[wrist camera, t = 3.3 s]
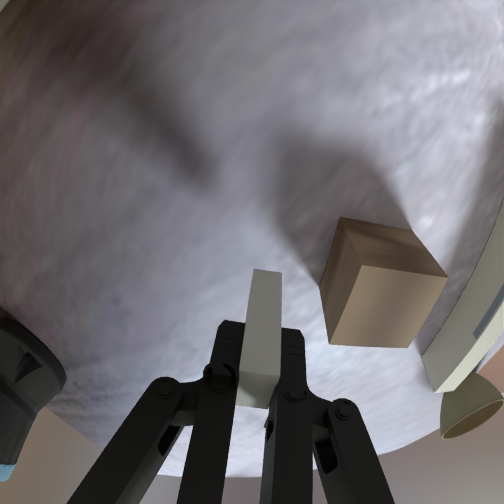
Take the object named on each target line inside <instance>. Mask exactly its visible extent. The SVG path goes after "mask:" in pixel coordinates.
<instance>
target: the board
mask: <svg viewBox="0 0 504 504" xmlns="http://www.w3.org/2000/svg"><path fill="white" fill-rule="evenodd" d="M503 329H504V201H503V203H502V206H501V209H500V212H499V215H498V217H497V220H496V222H495V225H494V227H493V230H492V232H491V235H490V237H489V240H488V242H487V244H486V246H485V249H484V251H483V253H482V255H481V257H480V259H479V262H478V264H477V266H476V268H475V270H474V272H473V274H472V276H471V278H470V280H469V281H468V283H467V285H466V287H465V289H464V291H463V293H462V294H461V296H460V298H459V300H458V301H457V303H456V305H455V307H454V308H453V310H452V312H451V313H450V315H449V316H448V318H447V320H446V321H445V323H444V324H443V326H442V328H441V329H440V331H439V332H438V334H437V335H436V337H435V338H434V340H433V341H432V343H431V344H430V345H429V347H428V348H427V350H426V351H425V353H424V354H423V355H422V357H421V359H422V362H423V364H424V367H425V369H426V372H427V375H428V378H429V380H430V383H431V386H432V389H433V392H434V393H441V392H448V391H454V390H455V389H456V388H457V387H458V386H459V384H460V383H461V382H462V381H463V380H464V379H465V378H466V377H467V376H468V374H469V373H470V372H471V371H472V370H473V369H474V367H475V366H476V365H477V364H478V363H479V361H480V360H481V359H482V358H483V356H484V355H485V354H486V352H487V351H488V350H489V349H490V347H491V346H492V345H493V343H494V342H495V341H496V339H497V338H498V336H499V335H500V334H501V332H502V331H503Z"/></svg>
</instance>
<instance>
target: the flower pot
mask: <svg viewBox="0 0 504 504" xmlns="http://www.w3.org/2000/svg"><path fill="white" fill-rule="evenodd" d="M503 405H504V398H503V396H502V395H501V393H500V392H499V391H498V390H497V388H496V387H495V386H494V385H493V384H492V383H491V382H490V381H488V380H487V379H486V378H484V377H482V376H481V375H479V374H477V373H475V372H473V371H471V372H470V373H469V374H468V376H467V377H466V378H465V379H464V380H463V381H462V382H461V383H460V384H459V386H458V387H457V388H456V389H455V390H454V391H448V392H444V394H443V399H442V404H441V413H440V431H441V438H442V439H443V440H448V439H452V438H456V437H459V436H461V435H464V434H466V433H468V432H470V431H472V430H474V429H476V428H477V427H479V426H481V425H482V424H484V423H485V422H486V421H488V420H489V419H490V418H492V417H493V416H494V415H495V414H496V413H497V412H498V411H499V410H500V409H501V408H502V407H503Z"/></svg>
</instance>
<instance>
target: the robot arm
mask: <svg viewBox="0 0 504 504" xmlns="http://www.w3.org/2000/svg"><path fill="white" fill-rule="evenodd" d="M281 310H282V273H280V272H273V271H266V270H260V269H254V270H253V276H252V283H251V289H250V295H249V302H248V308H247V315H246V322H245V323H241V322H235V321H228V320H224V321H223V322H222V323H221V324H220V325H219V327H218V330H217V334H216V338H215V342H214V346H213V351H212V355H211V359H210V363H209V364H208V365H206V367H205V368H204V370H203V377H202V378H201V379H199V380H197V381H194V382H186V383H179V382H178V381H177V380H175V379H174V378H170V377H160V378H157V379H155V380H154V381H153V382H152V383H151V384H150V385H149V387H148V388H147V389H146V391H145V392H144V394H143V395H142V396H141V398H140V399H139V401H138V402H137V403H136V405H135V406H134V408H133V409H132V411H131V412H130V413H129V415H128V416H127V418H126V419H125V420H124V422H123V423H122V425H121V426H120V428H119V429H118V430H117V432H116V433H115V435H114V436H113V438H112V439H111V440H110V442H109V443H108V445H107V446H106V448H105V449H104V450H103V452H102V453H101V455H100V456H99V458H98V459H97V461H96V462H95V463H94V465H93V466H92V468H91V469H90V471H89V472H88V473H87V475H86V476H85V478H84V479H83V480H82V482H81V483H80V485H79V486H78V488H77V489H76V491H75V492H74V493H73V495H72V496H71V498H70V499H69V501H68V502H67V504H139V503H140V501H141V500H142V498H143V496H144V494H145V493H146V491H147V489H148V488H149V486H150V485H151V483H152V481H153V480H154V478H155V476H156V475H157V473H158V471H159V469H160V468H161V466H162V464H163V463H164V461H165V459H166V458H167V456H168V454H169V452H170V451H171V449H172V447H173V445H174V444H175V442H176V440H177V439H178V437H179V435H180V433H181V432H182V430H183V428H184V426H191V425H193V430H192V434H191V439H190V443H189V448H188V452H187V457H186V461H185V466H184V471H183V475H182V481H181V485H180V490H179V494H178V499H177V504H221V501H222V494H223V488H224V480H225V474H226V467H227V460H228V453H229V446H230V439H231V432H232V425H233V418H234V411H235V405H238V406H246V407H253V408H262V409H268V407H269V415H268V417H267V420H266V422H265V425H264V428H266V433H265V446H264V458H263V470H262V482H261V493H260V504H312V492H313V491H312V489H313V479H312V478H313V454H314V458H315V461H316V465H317V468H318V471H319V475H320V478H321V482H322V485H323V489H324V492H325V496H326V499H327V503H328V504H395V503H394V500H393V497H392V495H391V492H390V489H389V486H388V484H387V481H386V478H385V475H384V473H383V470H382V468H381V465H380V462H379V460H378V457H377V454H376V452H375V449H374V447H373V444H372V441H371V439H370V436H369V434H368V431H367V429H366V426H365V424H364V421H363V419H362V416H361V414H360V411H359V409H358V407H357V406H356V404H355V403H353V402H352V401H351V400H348V399H345V398H339V399H336V400H334V401H333V402H331V401H328V400H325V399H322V398H320V397H317V396H316V395H314V394H313V393H312V392H311V391H310V390H309V388H308V386H307V380H306V359H305V341H304V337H303V335H302V333H301V331H300V330H297V329H289V328H281ZM66 380H67V377H66V374H65V371H64V369H63V368H62V366H61V365H60V363H59V362H58V361H57V359H56V358H55V357H54V356H53V354H52V353H51V352H50V351H49V350H48V349H47V348H46V347H45V346H44V345H43V344H42V343H41V342H40V341H39V340H38V339H37V338H35V337H34V336H33V335H32V334H31V333H29V332H28V331H27V330H26V329H24V328H23V327H21V326H20V325H18V324H17V323H15V322H13V321H11V320H9V319H5V318H0V481H6V480H8V479H9V477H10V475H11V473H12V471H13V469H14V467H15V466H16V465H17V459H18V457H19V454H20V452H21V449H22V447H23V444H24V442H25V440H26V438H27V435H28V433H29V431H30V428H31V426H32V424H33V422H34V420H35V418H36V416H37V414H38V412H39V411H40V410H41V409H42V408H43V407H44V406H45V405H46V404H47V403H49V402H50V401H51V400H52V399H53V398H54V397H55V396H56V395H57V394H59V393H60V392H61V390H62V389H63V387H64V385H65V383H66Z"/></svg>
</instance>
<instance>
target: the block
mask: <svg viewBox="0 0 504 504" xmlns="http://www.w3.org/2000/svg"><path fill="white" fill-rule="evenodd" d="M447 280H448V276H447V275H446V274H445V272H444V271H443V270H442V268H441V267H440V265H439V264H438V263H437V261H436V260H435V259H434V257H433V256H432V255H431V254H430V252H429V251H428V250H427V248H426V247H425V246H424V245H423V243H422V242H421V241H420V240H419V238H418V237H417V236H416V235H415V234H414V232H413V231H408V230H403V229H399V228H394V227H389V226H384V225H379V224H374V223H369V222H364V221H359V220H353V219H348V218H343V217H340V219H339V222H338V226H337V229H336V233H335V236H334V240H333V243H332V247H331V250H330V254H329V257H328V260H327V263H326V267H325V270H324V273H323V276H322V279H321V283H320V286H319V290H320V295H321V300H322V306H323V312H324V318H325V324H326V330H327V336H328V342H329V344H332V345H346V346H364V347H388V348H408V347H409V345H410V344H411V342H412V341H413V339H414V338H415V336H416V334H417V333H418V331H419V330H420V328H421V327H422V325H423V323H424V322H425V320H426V318H427V317H428V315H429V313H430V312H431V310H432V308H433V306H434V305H435V303H436V301H437V299H438V297H439V296H440V294H441V292H442V290H443V288H444V286H445V284H446V282H447Z"/></svg>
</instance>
